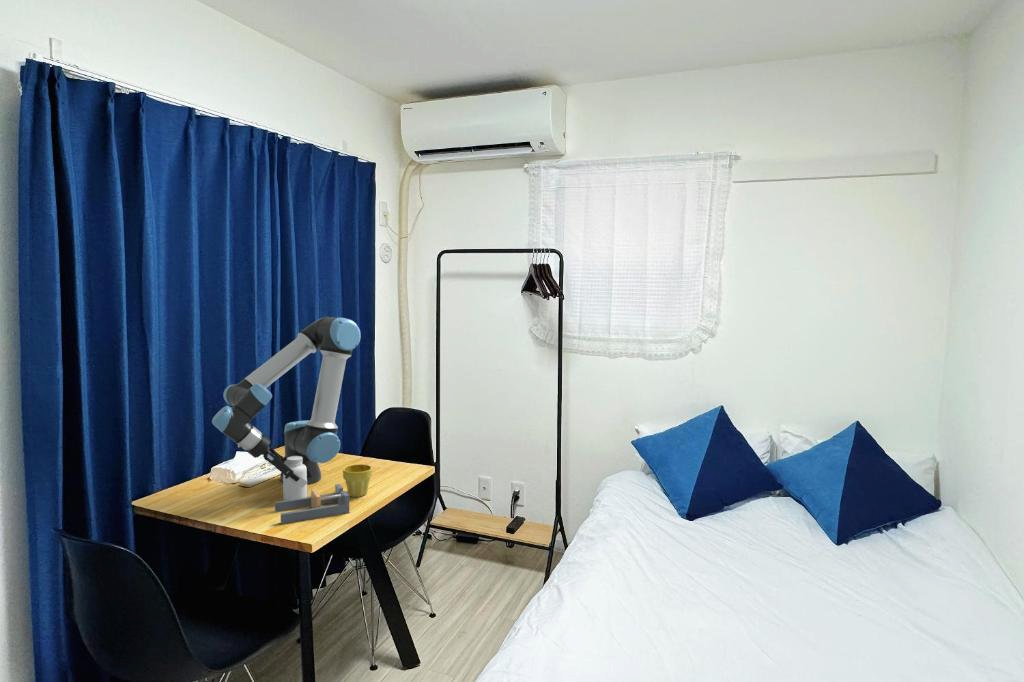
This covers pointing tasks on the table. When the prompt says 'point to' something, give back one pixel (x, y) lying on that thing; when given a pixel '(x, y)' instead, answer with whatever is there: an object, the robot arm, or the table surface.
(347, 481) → the plant pot
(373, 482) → the table surface
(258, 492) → the table surface
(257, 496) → the table surface
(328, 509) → the lane
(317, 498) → the pusher
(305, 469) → the pill bottle
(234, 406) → the robot arm
